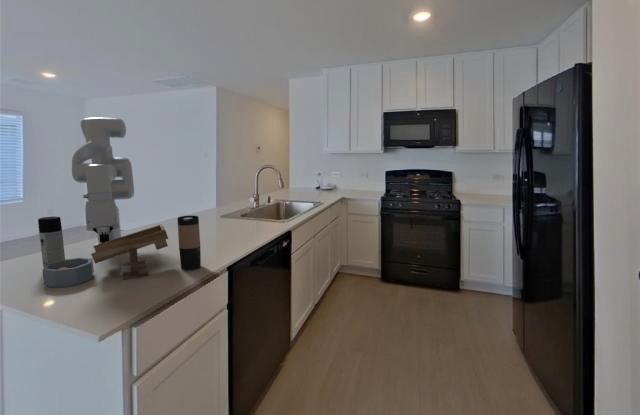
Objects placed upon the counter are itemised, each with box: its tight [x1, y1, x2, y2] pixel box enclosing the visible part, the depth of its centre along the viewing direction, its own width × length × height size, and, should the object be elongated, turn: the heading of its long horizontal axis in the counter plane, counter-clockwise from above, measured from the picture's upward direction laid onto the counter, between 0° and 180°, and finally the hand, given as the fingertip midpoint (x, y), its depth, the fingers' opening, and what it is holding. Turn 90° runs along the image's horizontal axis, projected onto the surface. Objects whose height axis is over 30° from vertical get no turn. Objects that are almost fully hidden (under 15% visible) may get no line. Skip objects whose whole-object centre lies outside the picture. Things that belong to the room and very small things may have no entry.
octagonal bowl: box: [42, 257, 95, 289], centre depth 112 cm, size 13×13×6 cm
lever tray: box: [90, 223, 169, 264], centre depth 125 cm, size 20×24×7 cm
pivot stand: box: [121, 248, 149, 281], centre depth 122 cm, size 18×8×10 cm, turn 31°
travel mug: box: [177, 215, 202, 271], centre depth 125 cm, size 8×8×20 cm
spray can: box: [37, 216, 66, 268], centre depth 122 cm, size 7×7×20 cm
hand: (104, 243), depth 126 cm, fingers closed
